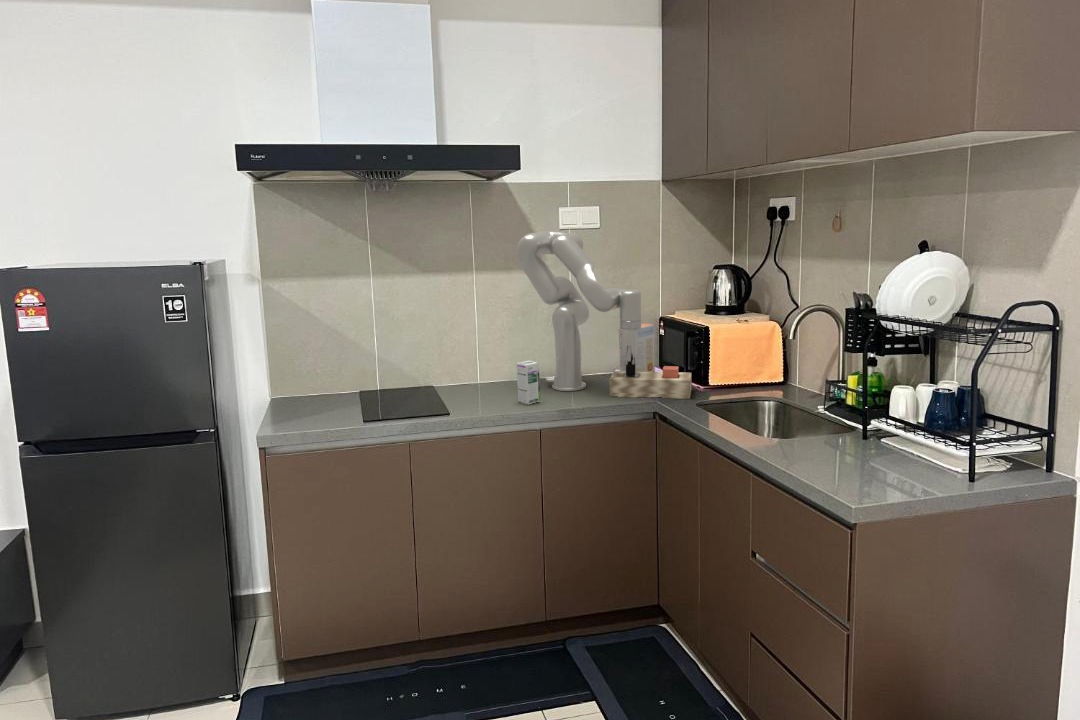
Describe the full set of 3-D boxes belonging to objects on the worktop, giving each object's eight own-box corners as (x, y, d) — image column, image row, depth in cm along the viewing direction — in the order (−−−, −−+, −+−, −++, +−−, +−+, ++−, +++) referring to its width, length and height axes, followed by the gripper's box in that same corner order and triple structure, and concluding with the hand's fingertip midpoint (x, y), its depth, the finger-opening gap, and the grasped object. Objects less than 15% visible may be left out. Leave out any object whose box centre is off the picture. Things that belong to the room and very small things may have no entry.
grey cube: (623, 389, 281) (623, 377, 280) (625, 386, 286) (624, 373, 285) (637, 390, 280) (637, 377, 279) (639, 386, 285) (639, 373, 284)
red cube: (662, 382, 278) (662, 369, 277) (663, 378, 282) (663, 366, 281) (677, 382, 276) (677, 369, 275) (678, 379, 281) (678, 366, 280)
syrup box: (528, 405, 272) (526, 364, 269) (517, 402, 277) (516, 362, 274) (541, 402, 276) (539, 362, 273) (530, 399, 280) (528, 359, 277)
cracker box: (643, 375, 309) (643, 322, 305) (655, 377, 305) (655, 324, 300) (619, 381, 300) (618, 327, 296) (630, 384, 296) (629, 329, 292)
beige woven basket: (609, 396, 280) (609, 379, 278) (614, 388, 291) (614, 371, 290) (689, 398, 273) (690, 380, 272) (691, 390, 285) (691, 372, 283)
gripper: (622, 321, 286) (622, 370, 290) (617, 328, 272) (617, 379, 276) (643, 321, 285) (643, 370, 289) (638, 328, 270) (638, 380, 274)
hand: (630, 375), depth 282 cm, fingers closed
